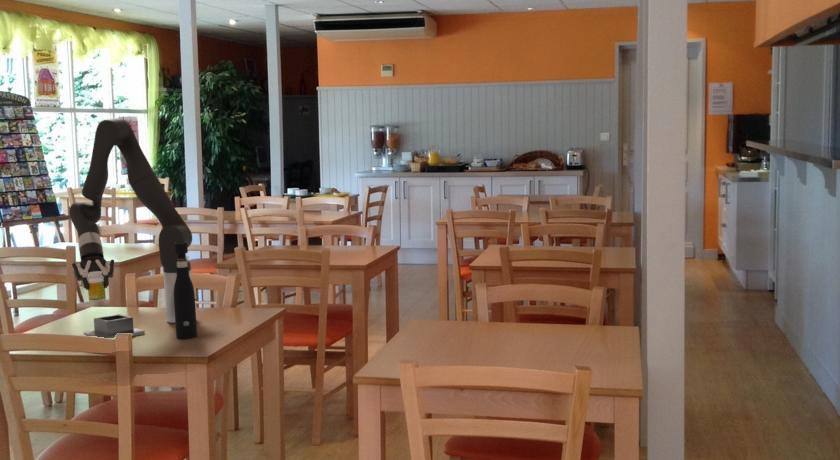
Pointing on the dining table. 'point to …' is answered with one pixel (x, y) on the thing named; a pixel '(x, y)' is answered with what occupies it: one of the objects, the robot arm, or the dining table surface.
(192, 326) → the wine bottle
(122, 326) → the square socket
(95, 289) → the supplement bottle
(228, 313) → the dining table surface
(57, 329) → the dining table surface
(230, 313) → the dining table surface
